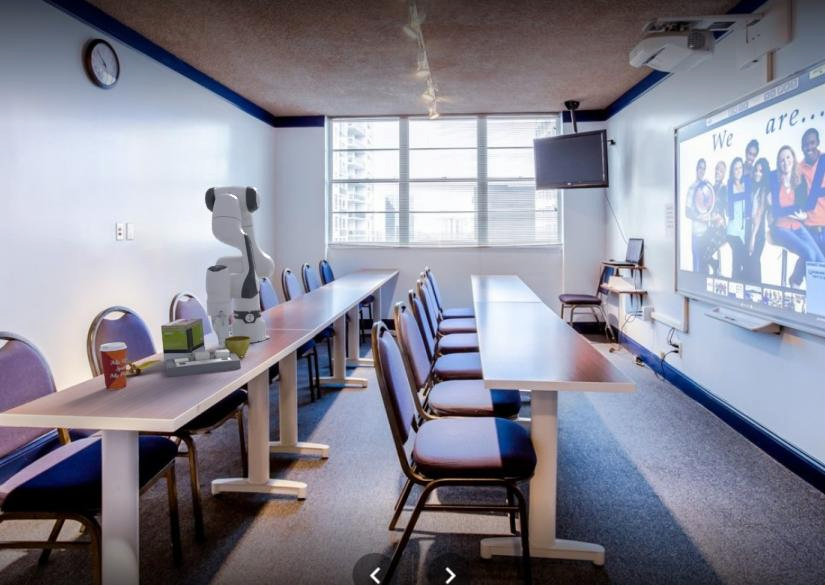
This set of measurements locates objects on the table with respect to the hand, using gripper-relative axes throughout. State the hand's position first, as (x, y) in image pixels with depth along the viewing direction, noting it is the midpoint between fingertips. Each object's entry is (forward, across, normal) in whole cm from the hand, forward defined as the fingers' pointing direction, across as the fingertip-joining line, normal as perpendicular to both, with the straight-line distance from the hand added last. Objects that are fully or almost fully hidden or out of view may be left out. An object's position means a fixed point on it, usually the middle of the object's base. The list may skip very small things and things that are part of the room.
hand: (221, 346), depth 195 cm
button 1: (+6, 0, +14) cm, 15 cm away
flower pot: (+7, +11, -7) cm, 15 cm away
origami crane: (+7, 0, +29) cm, 30 cm away
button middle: (+5, 0, +7) cm, 8 cm away
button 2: (+5, 0, 0) cm, 5 cm away
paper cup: (+7, -15, +34) cm, 38 cm away
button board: (+7, -2, +7) cm, 10 cm away
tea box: (+7, +18, +12) cm, 23 cm away
